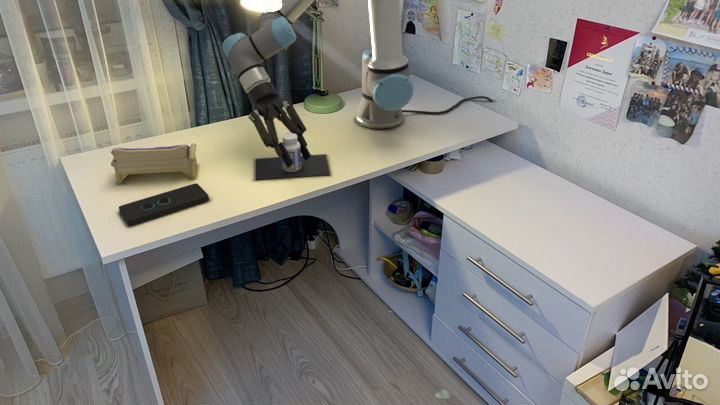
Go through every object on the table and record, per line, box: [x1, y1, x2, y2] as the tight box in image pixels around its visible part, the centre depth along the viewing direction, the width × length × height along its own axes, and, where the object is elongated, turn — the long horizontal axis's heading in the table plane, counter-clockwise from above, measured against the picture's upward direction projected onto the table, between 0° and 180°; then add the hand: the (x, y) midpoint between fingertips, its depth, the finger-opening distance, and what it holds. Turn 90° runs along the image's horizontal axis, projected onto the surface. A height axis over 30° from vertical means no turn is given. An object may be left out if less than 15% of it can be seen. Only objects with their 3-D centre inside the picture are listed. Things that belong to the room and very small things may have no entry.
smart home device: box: [118, 183, 210, 227], centre depth 139 cm, size 8×2×20 cm
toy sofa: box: [110, 142, 198, 185], centre depth 151 cm, size 21×9×10 cm, turn 99°
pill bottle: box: [281, 132, 302, 172], centre depth 154 cm, size 5×5×10 cm
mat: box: [255, 153, 331, 181], centre depth 157 cm, size 20×12×1 cm, turn 99°
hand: (299, 161), depth 152 cm, fingers closed on pill bottle, 5 cm apart
